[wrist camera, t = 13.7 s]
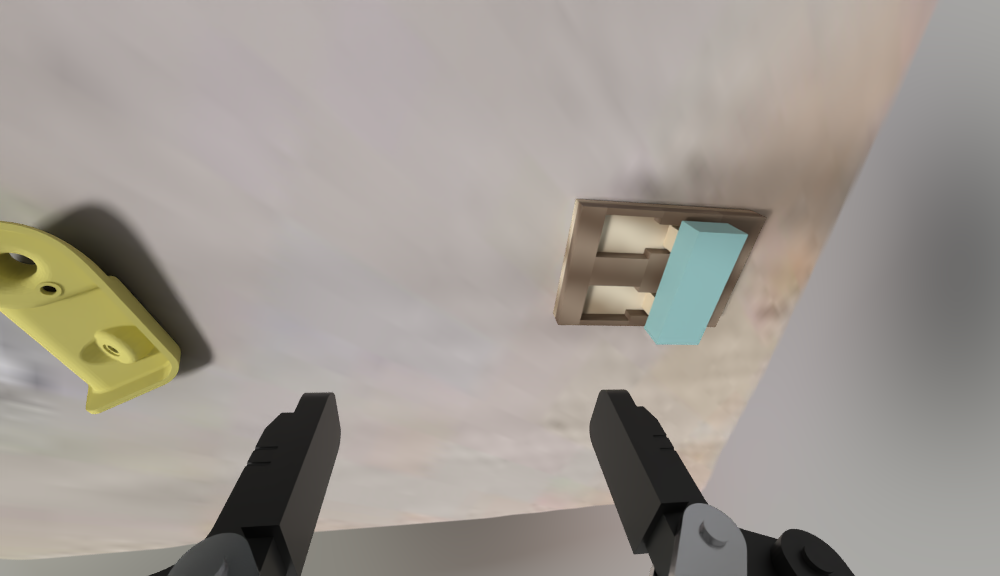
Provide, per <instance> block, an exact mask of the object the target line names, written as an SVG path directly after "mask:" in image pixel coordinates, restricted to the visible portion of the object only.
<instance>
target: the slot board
mask: <svg viewBox="0 0 1000 576" xmlns="http://www.w3.org/2000/svg"><path fill="white" fill-rule="evenodd" d="M765 220H766V217H764V216H762V215H760V214H758V213H756V212H753V211H751V210H739V209H723V208H708V207H692V206H677V205H661V204H646V203H630V202H615V201H599V200H584V199H576V202H575V207H574V212H573V217H572V222H571V227H570V232H569V237H568V242H567V247H566V252H565V257H564V262H563V267H562V272H561V277H560V282H559V287H558V292H557V297H556V302H555V307H554V312H553V314H554V316H555V319H556V321H557V323H558V325H607V326H645V324H646V321H647V318H648V316H649V315H648V314H647V313H646V311H645V310H644V309H643V308H642V305H643V302H644V299H645V296H646V293H657V290H658V287H659V284H660V282H661V279H662V276H663V273H664V270H665V267H666V265H667V262H668V259H669V256H670V253H671V252H670V251H669V250H668V249H666V248H665V247H664V246H663V243H664V240H665V237H666V234H667V231H668V228H669V225H676V226H680V225H681V222H682V221H696V222H713V223H728V224H730V225H732V226H733V227H735V228H737V229H739V230H741V231H743V232H745V233H746V234H748V236H747V239H746V241H745V243H744V245H743V247H742V250H741V252H740V254H739V256H738V258H737V261H736V263H735V265H734V267H733V269H732V272H731V274H730V276H729V278H728V280H727V283H726V285H725V287H724V289H723V291H722V294H721V296H720V298H719V300H718V302H717V305H716V307H715V309H714V311H713V313H712V316H711V318H710V320H709V322H708V324H707V327H716V325H717V322H718V320H719V318H720V316H721V314H722V312H723V310H724V308H725V305H726V303H727V301H728V299H729V297H730V295H731V293H732V290H733V288H734V286H735V284H736V282H737V280H738V278H739V275H740V273H741V271H742V269H743V267H744V265H745V263H746V261H747V258H748V256H749V254H750V252H751V250H752V248H753V246H754V243H755V241H756V239H757V237H758V235H759V233H760V231H761V229H762V226H763V224H764V222H765Z"/></svg>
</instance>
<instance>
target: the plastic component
mask: <svg viewBox="0 0 1000 576" xmlns="http://www.w3.org/2000/svg"><path fill="white" fill-rule="evenodd" d="M9 253H17V254H21V255H24V256H26V257H28V258H30V259H31V260H33V261H34V262H35V264H34V265H30V264H24V263H21V262H19V261H16V260H15V259H14V258H12V257H11V255H10V254H9ZM43 286H52V287H54V288H55V289H56V290H57V291H56V292H48V291H46V290H44V289H43ZM0 311H1V312H2V313H3V314H4V315H6V316H7V317H8V318H9V319H10V320H12V321H13V322H14V323H15V324H16V325H18V326H19V327H20V328H21V329H22V330H24V331H25V332H26V333H27V334H28V335H30V336H31V337H32V338H33V339H34V340H36V341H37V342H38V343H39V344H40V345H42V346H43V347H44V348H45V349H46V350H48V351H49V352H50V353H51V354H52V355H54V356H55V357H56V358H57V359H58V360H60V361H61V362H62V363H63V364H64V365H66V366H67V367H68V368H69V369H70V370H72V371H73V372H74V373H75V374H76V375H78V376H79V377H80V378H81V379H82V380H84V381H85V382H86V383H87V384H88V387H89V388H88V395H87V402H86V410H87V411H88V412H90V413H91V414H98V413H101V412H103V411H106V410H108V409H110V408H112V407H115V406H117V405H119V404H122V403H124V402H126V401H128V400H131V399H133V398H135V397H137V396H140V395H142V394H144V393H147V392H149V391H151V390H153V389H156V388H158V387H160V386H163V385H165V384H167V383H168V382H170V381H171V380H172V379H173V378H174V377H175V376H176V374H177V373H178V370H179V363H180V357H181V350H180V348H179V346H178V345H177V343H176V342H175V341H174V340H173V339H172V338H171V337H170V336H169V335H168V333H167V332H166V331H165V330H164V329H163V328H162V327H161V326H160V325H159V324H158V322H157V321H156V320H155V319H154V318H153V317H152V316H151V315H150V314H149V312H148V311H147V310H146V309H145V308H144V307H143V306H142V305H141V304H140V302H139V301H138V300H137V299H136V298H135V297H134V296H133V295H132V294H131V293H130V291H129V290H128V289H127V288H126V287H125V286H124V285H123V284H122V283H121V281H120V280H119V279H118V278H116V277H114V276H107V275H106V274H105V273H104V272H103V271H102V270H101V269H100V268H99V267H98V266H97V265H96V264H95V263H94V262H93V261H91V260H90V259H89V258H88V257H87V256H85V255H84V254H83V253H82V252H80V251H79V250H77V249H76V248H74V247H73V246H71V245H70V244H68V243H67V242H65V241H63V240H61V239H59V238H58V237H56V236H54V235H51V234H49V233H47V232H44V231H42V230H39V229H36V228H34V227H30V226H27V225H23V224H18V223H13V222H5V221H0Z"/></svg>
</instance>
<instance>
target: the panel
mask: <svg viewBox="0 0 1000 576" xmlns="http://www.w3.org/2000/svg"><path fill="white" fill-rule="evenodd" d="M747 236H748V234H746V233H745V232H743V231H741V230H739V229H737V228H735V227H733V226H732V225H730V224H728V223H713V222H696V221H682V222H681V225H680V226H676V225H669V228H668V231H667V234H666V237H665V240H664V243H663V246H664V247H665V248H666V249H668V250H669V251H670V252H671V253H670V256H669V259H668V262H667V265H666V267H665V270H664V273H663V276H662V279H661V282H660V284H659V287H658V290H657V293H646V296H645V299H644V302H643V305H642V308H643V309H644V310H645V311H646V313H647V314H648V315H649V316H648V318H647V321H646V324H645V327H644V329H645V330H646V331H647V333H648V334H649V335H650V336H651V338H652V339H653V340H654V342H655V343H656V344H680V345H698V344H699V342H700V340H701V338H702V335H703V333H704V331H705V329H706V327H707V324H708V322H709V320H710V318H711V316H712V313H713V311H714V309H715V307H716V305H717V302H718V300H719V298H720V296H721V294H722V291H723V289H724V287H725V285H726V283H727V280H728V278H729V276H730V274H731V272H732V269H733V267H734V265H735V263H736V261H737V258H738V256H739V254H740V252H741V250H742V247H743V245H744V243H745V241H746V239H747Z"/></svg>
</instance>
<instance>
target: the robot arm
mask: <svg viewBox="0 0 1000 576" xmlns="http://www.w3.org/2000/svg"><path fill="white" fill-rule="evenodd" d="M340 436H341V429H340V422H339V416H338V411H337V405H336V399H335V395H334V393H304V394H303V395H302V397H301V399H300V401H299V403H298V405H297V407H296V409H295V412H294V413H281V414H280V415H279V416H278V417H277V418H276V419H275V420H274V421H273V422H271V423H270V424H269V425H268V426H267V427H266V428H265V430H264V432H263V434H262V435H261V437H260V439H259V441H258V443H257V445H256V447H255V451H253V453H252V454H251V456H250V458H249V460H248V462H247V466H245V468H244V470H243V472H242V474H241V475H240V477H239V479H238V481H237V483H236V485H235V487H234V489H233V491H232V493H231V494H230V496H229V498H228V500H227V502H226V504H225V506H224V508H223V510H222V512H221V513H220V515H219V517H218V519H217V521H216V523H215V525H214V527H213V528H212V530H211V532H210V533H209V534H208V536H207V537H206V538H205V540H203V541H201V542H199V543H198V544H196V545H195V546H193V547H192V548H191V549H190V550H188V551H187V552H186V553H185V554H184V555H183V556H182V557H181V558H180V559H179V560H178V561H177V563H176V564H174V565H172V566H171V567H169V568H167V569H165V570H162V571H160V572H157V573H155V574H152V575H149V576H301V573H302V569H303V566H304V563H305V559H306V556H307V553H308V549H309V546H310V543H311V539H312V536H313V533H314V529H315V526H316V523H317V519H318V516H319V513H320V509H321V506H322V503H323V500H324V496H325V493H326V490H327V486H328V483H329V480H330V476H331V473H332V470H333V466H334V463H335V460H336V456H337V453H338V449H339V445H340ZM590 438H591V442H592V445H593V448H594V450H595V453H596V456H597V458H598V461H599V464H600V466H601V469H602V471H603V474H604V477H605V479H606V482H607V485H608V487H609V490H610V493H611V495H612V498H613V501H614V503H615V506H616V508H617V511H618V514H619V516H620V519H621V522H622V524H623V527H624V529H625V532H626V535H627V537H628V540H629V543H630V545H631V548H632V551H633V553H634V554H644V553H649V556H650V558H651V561H652V563H653V565H652V567H651V570H650V575H649V576H855V575H854V574H853V573H852V571H851V570H850V569H849V567H848V566H847V565H846V563H845V562H844V561H843V560H842V559H841V557H840V556H839V555H838V554H837V553H836V552H835V551H834V550H833V549H832V548H831V547H830V546H829V545H828V544H826V543H825V542H824V541H822V540H821V539H819V538H818V537H816V536H814V535H812V534H810V533H808V532H805V531H803V530H799V529H789V530H787V531H785V532H784V533H783V534H782V535H781V536H780V537H779V539H775V538H772V537H768V536H765V535H761V534H758V533H754V532H751V531H747V530H743V529H741V528H738V527H737V525H736V524H735V523H734V522H733V521H732V519H731V518H729V517H728V516H727V515H726V514H725V513H723V512H722V511H720V510H719V509H717V508H715V507H713V506H711V505H708V503H707V502H706V500H705V499H704V497H703V496H702V494H701V492H700V491H699V489H698V487H697V486H696V484H695V482H694V481H693V479H692V477H691V475H690V474H689V472H688V470H687V469H686V467H685V465H684V464H683V462H682V460H681V459H680V457H679V455H678V454H677V452H676V451H674V447H673V445H672V443H671V442H670V440H669V438H667V437H666V433H665V432H664V430H663V428H662V427H661V425H660V423H659V422H658V420H657V419H656V418H655V417H654V416H653V415H652V414H651V413H650V412H649V411H648V410H647V409H646V408H644V407H643V406H639V407H637V406H636V405H635V403H634V401H633V399H632V397H631V396H630V394H629V392H628V391H627V390H601V391H600V393H599V395H598V398H597V402H596V405H595V408H594V411H593V414H592V418H591V421H590Z"/></svg>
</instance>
